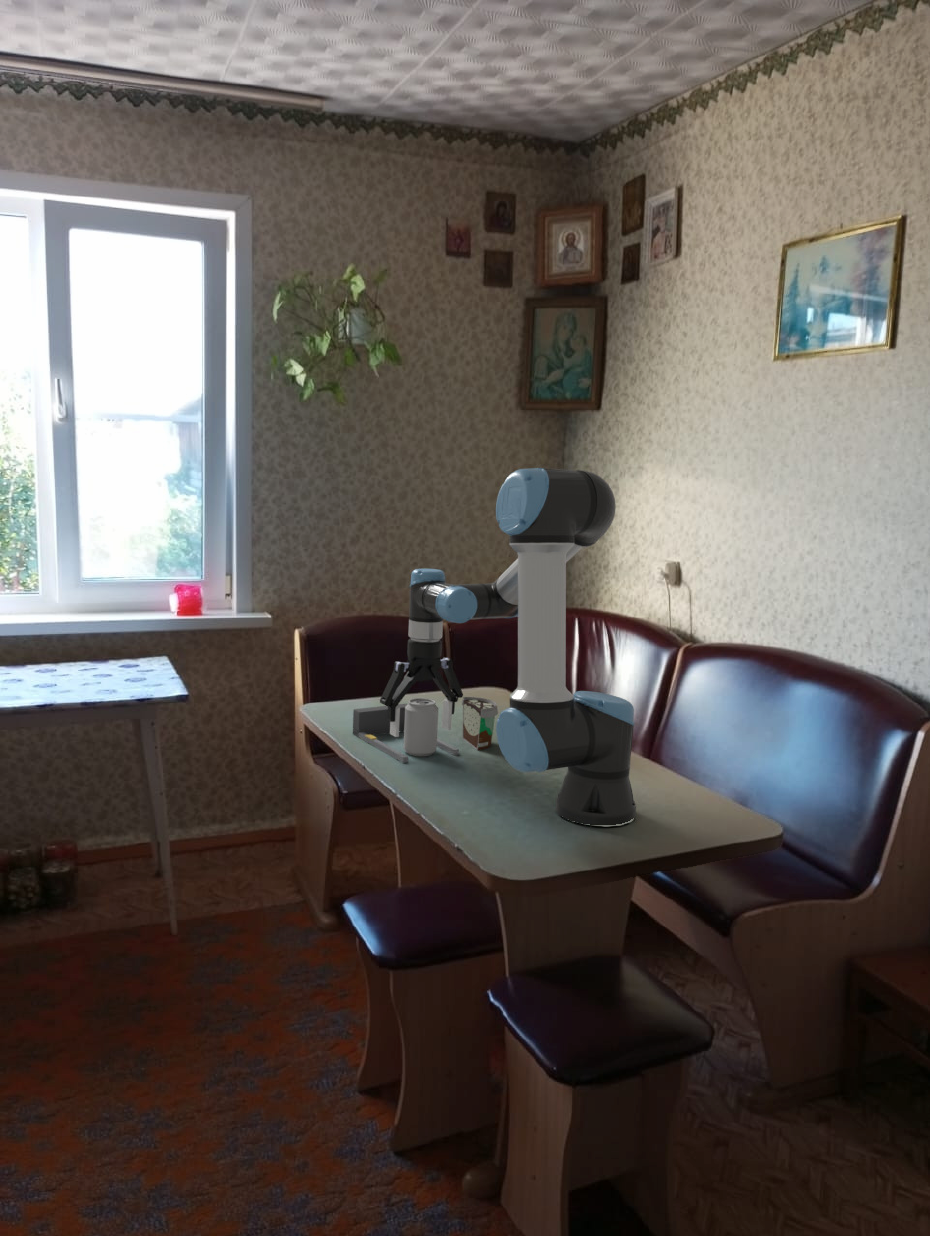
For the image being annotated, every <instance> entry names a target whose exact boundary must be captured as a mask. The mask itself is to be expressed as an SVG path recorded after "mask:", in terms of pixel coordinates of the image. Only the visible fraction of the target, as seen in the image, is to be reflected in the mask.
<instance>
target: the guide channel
mask: <svg viewBox="0 0 930 1236" xmlns="http://www.w3.org/2000/svg"><path fill="white" fill-rule="evenodd" d="M408 704H409V703H399V704H398V705H397V707H399V708H400V719H399V731H403V732H404V725H405V707H406V706H407V705H408ZM352 713H353V714H352V715H353V717H352V735H354V736H356V737H358V738H359V739H361V740H362V741H365V742H366V743H368V744H370V745H371V746H373V747H375V748H377V749H378V750H380V751H382V752H383V753H385V754H387V755H389V756H390V757H393V758H394V759H396V760H397V759H398V761H399V762H401V763H403V764H405V763H408V762H409V756H407V755H406V754H404V753H402V752H400V751H398V750H397V749H395V748H393V747H391V746H390V745H388V744H387V743H384V742H383V741H381V740H379V739H378V737H377V736H379V735H378V734H380V735H385V734H384V733H388V734H390V721H388V719H387V716H388V715H387V714H388V706H386V705H381V706H372V707H364V708H363V707H362V708H354V709H353V712H352ZM437 748H439V749H441V750H442V751H445V752H447V753H449V754H451V755H453V756H459V754H460V749H459V748H457V747H455V746H453V745H451V744H449V743H447V742H446V741H443V740H441V739H439V738H437Z"/></svg>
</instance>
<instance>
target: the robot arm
mask: <svg viewBox="0 0 930 1236" xmlns="http://www.w3.org/2000/svg"><path fill="white" fill-rule="evenodd" d="M495 503H496V505H495V519H496V521H497V523H499V524H498V527H499V529H500V530H501V531H502V532H503V533H505V534H506V535H508V537H509V542H508V543H509V546H510V548H512V549H513V550H514V551H515V552H516V553H517V558H516V559H515V561H513V562H512V564H510V565H509V567H508V568H507V569H505V571H503V573H502V574H501V575H500V576H499V577H498V578H496V580H495V581H494V582H492V583H464V584H463V583H459V584H458V583H457V584H455V583H454V584H453V583H447V582H446V581H447V580H446V574H445V572H444V570H441V569H436V568H415V569H414V570H412V572H411V575H410V585H409V609H408V610H409V612H408V613H409V615H408V635H407V636H408V637H409V639H408V640H407V661H406V662H401V661H395V662H394V665H393V671H392V673H391V676H390V678H389V680H388V682H387V684H386V686H385V688H384V690H383V693H382V695H381V697H380V699H379V703H380V704H382V705H383V706H388V714H387V715H388V716H387V719H388V721H390V733H389V735H391V736H393V737H395V738H398V737H400V732H399V719H400V708H399V707H397V705H398V704H401V703H400V702H402V700H403V699H404V697H405V696H406V695H407V693H408V692H409V691H410V689H411V688H412V687H413V685H415V684H416V683H417V682H423V681H429V682H430V681H432V680H433V682H434V683H435V684H436V685H437V687H438V688H439V690H440V691H441V692H442V694H443V695H444V697H445V699H443V700H442V712H441V713H442V719H441V728H442V729H444V730H447V731H451V730H452V715H454V714H455V707H456V703H458V701H459V698H460V699H462V698H463V697H464V693H463V691H462V688H461V685H460V684H459V681H458V678H457V675H456V673H455V670H454V664H453V663H454V662H453V659H451V658H449V657H446V656H444V657H443V658H442V659H441V657H442V647H443V642H442V640H441V639H442V638H443V629H444V628H443V627H444V626H443V624H444V621H446V622H449V623H452V624H453V623H456V624H464V623H467V622H468V621H470V620H481V619H511V618H512V619H513V618H516V617H517V687H516V689H514V690H513V692H512V693H511V694H510V695H509V707H508V708H505V709H504V710H502V711H501V712H500V713H499V714H498V718H497V720H496V726H495V727H496V729H495V730H496V739H497V744H498V746H499V749H500V751H501V754H502V756H503V757H504V759H505V760H506V762H507V763H508V765H510V766H511V767H512V768H513V769H515V770H516V771H517V772H522V773H530V772H536V773H542V772H546V771H550V770H558V769H562V768H567V771H566V775H565V777H564V780H563V782H562V786H561V789H560V792H558V793H557V796H556V799H555V812H556V814H557V813H558V814H559V815H558V814H557V815H558V816H560V815H561V816H563V817H564V818H566V819H569V820H571V821H575V822H578V823H583V824H590V825H616V824H622V823H625V822H628V821H630V820H631V819H633V818H634V816H635V817H636V812H637V811H636V810H637V807H636V806H637V804H636V802H635V799H634V794H633V793H634V792H633V789H632V784H631V781H630V769H631V757H632V745H633V735H634V727H635V722H634V719H635V718H634V716H635V714H634V713H635V708H634V705H633V704H632V703H631V702H630V701H629V700H626V699H625V698H624V697H623V698H622V697H619V696H616V695H613V694H607V693H603V692H597V691H590V690H589V691H588V690H578V691H575V692H574V693H573V694H572V693H571V691H570V690H568V688H567V686H566V681H567V680H566V679H567V677H566V674H567V671H566V670H567V667H566V662H567V661H566V656H567V655H566V654H567V653H566V651H567V648H566V647H567V646H566V644H567V642H566V639H567V638H566V637H567V635H566V634H567V633H566V632H567V628H566V627H567V621H566V619H567V617H566V615H567V610H566V609H567V603H566V601H567V598H566V597H567V593H566V592H567V589H566V588H567V562H568V561H569V560H571V559H572V558H573V557H574V556H575V555H576V554H577V553H579V552H580V551H581V549H583V548H589V547H593V545H595V544H596V543H597V542H598V541H599V540H600V539H601V538H602V537H604V535H605V534H606V533H607V531H609V529H610V527H611V526H612V524H613V521H614V518H615V515H616V508H617V507H616V499H615V495H614V493H613V490H612V488H611V486H610V485H609V483H607V481H606V480H605V479H604V478H602V477H601V476H600V475H598V474H597V473H594V472H592V471H588V470H579V469H577V470H572V469H571V470H569V469H557V468H543V467H534V468H520V469H517V470H515V471H513V472H511V473H510V474H509V475H508V476H507V477H506V478H505V480H504V483H502V485H501V486H500V489H499V491H498V495H497V498H496V502H495ZM440 668H441V669H443V673H444V675H445V677H446V679H447V682H448V684H447V683H446V681H445V680H444V679H443V676H442V674H440V672H439V671H440ZM405 672H406V674H405ZM404 674H405V675H404ZM448 685H449V686H448ZM561 816H560V817H561ZM564 818H563V819H564ZM566 819H565V820H566ZM571 821H570V822H571Z"/></svg>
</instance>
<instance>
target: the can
mask: <svg viewBox="0 0 930 1236" xmlns="http://www.w3.org/2000/svg"><path fill="white" fill-rule="evenodd" d="M407 704H408V705H407V706H406V707H405V725H404V731H403V750H404V751H405V752H406V753H407V754H408V755H410V756H413V757H428V756H432V755H433V754H434V753H435V752H436V751H437V749H438V747H437V739H438V730H439V729H438V726H439V707H438V706H437V705H436V704H437V702H436V701H435V700H434V699H430V698H425V697H417V698H416V697H415V698H411V699H409V700H408V703H407Z"/></svg>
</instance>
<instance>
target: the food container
mask: <svg viewBox="0 0 930 1236" xmlns="http://www.w3.org/2000/svg"><path fill="white" fill-rule="evenodd" d="M462 698H463V699H462V701H461V702H462V703H461V705H462V740H463V741H465V742H467V744H468V745H470V746H471V747H473V748H474V749H475V750H476V751H481V750H483V751H484V750H487V749H489V748H491V746H492V741H493V740H492V739H493V732H494V725H495V719H496V718H495V717H496V716H497V715H499V714H498V713H499V711H498V706H497V703H496V702H495V701H494V700H491V699H488V698H484V697H479V696H478V697H476V696H463V697H462Z"/></svg>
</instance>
